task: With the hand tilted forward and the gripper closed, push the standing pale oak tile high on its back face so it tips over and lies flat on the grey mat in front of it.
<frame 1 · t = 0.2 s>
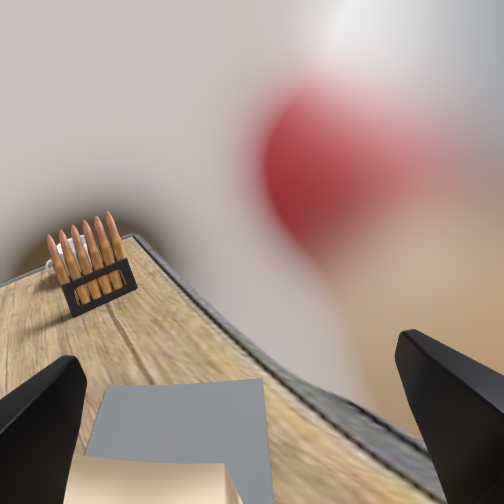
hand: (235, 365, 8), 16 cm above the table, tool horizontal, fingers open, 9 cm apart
teacup: (76, 274, 52), on the table
mat: (172, 445, 22), on the table
ammunition clip: (104, 301, 43), on the table
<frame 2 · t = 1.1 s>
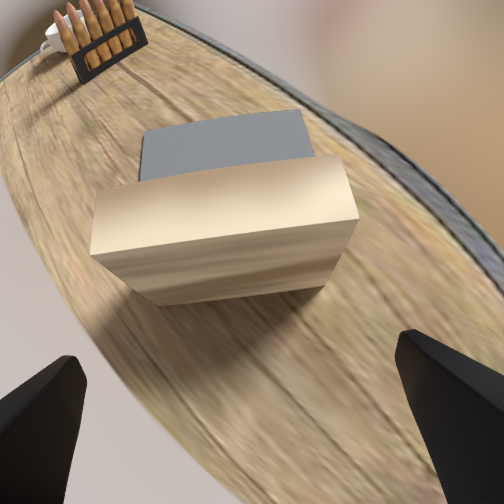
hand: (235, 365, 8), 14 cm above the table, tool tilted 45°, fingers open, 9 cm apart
teacup: (72, 49, 40), on the table
mat: (226, 174, 27), on the table
ammunition clip: (114, 62, 36), on the table
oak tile: (237, 273, 23), on the table
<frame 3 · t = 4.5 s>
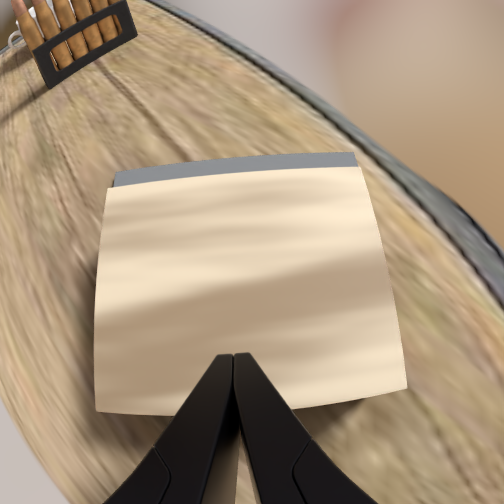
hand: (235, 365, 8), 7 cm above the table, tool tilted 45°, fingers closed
teacup: (48, 41, 30), on the table
mat: (240, 261, 17), on the table
ammunition clip: (91, 59, 26), on the table
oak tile: (251, 409, 12), point 2 cm above the table, tilted 90°, touching mat
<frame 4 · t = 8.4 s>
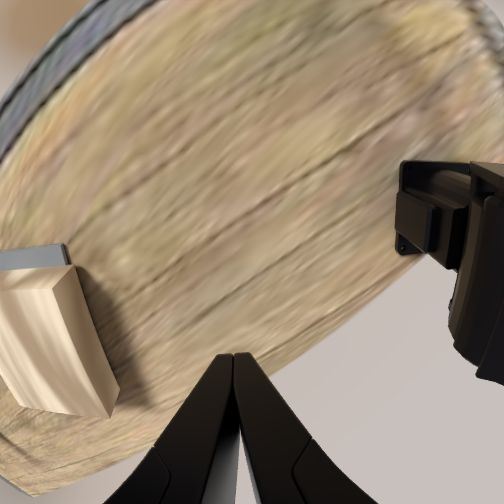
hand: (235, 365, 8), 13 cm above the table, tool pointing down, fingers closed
mat: (30, 331, 23), on the table
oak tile: (90, 348, 21), point 2 cm above the table, tilted 90°, touching mat
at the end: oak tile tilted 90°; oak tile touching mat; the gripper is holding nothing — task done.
